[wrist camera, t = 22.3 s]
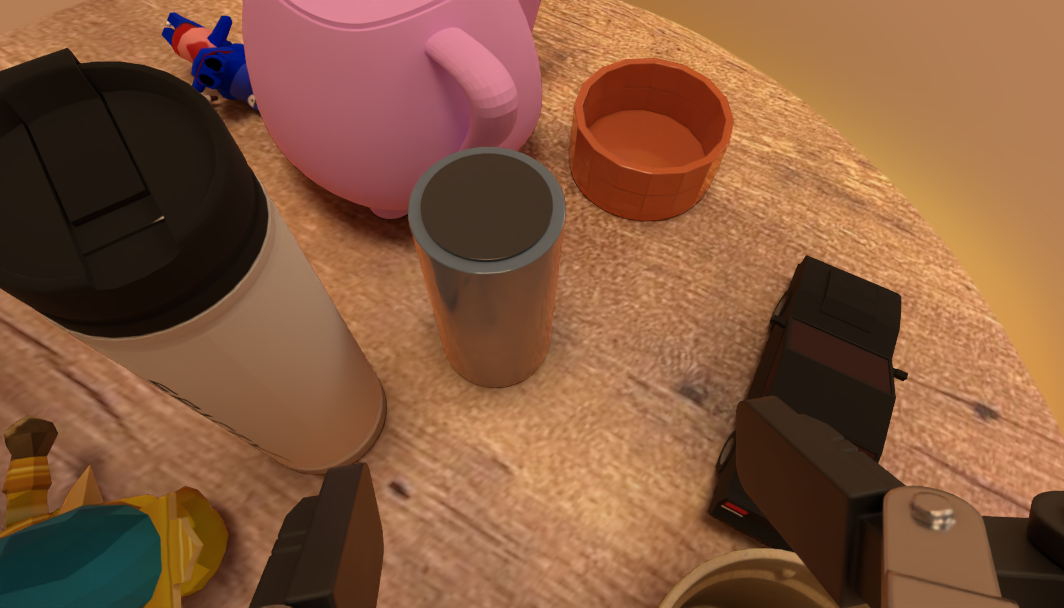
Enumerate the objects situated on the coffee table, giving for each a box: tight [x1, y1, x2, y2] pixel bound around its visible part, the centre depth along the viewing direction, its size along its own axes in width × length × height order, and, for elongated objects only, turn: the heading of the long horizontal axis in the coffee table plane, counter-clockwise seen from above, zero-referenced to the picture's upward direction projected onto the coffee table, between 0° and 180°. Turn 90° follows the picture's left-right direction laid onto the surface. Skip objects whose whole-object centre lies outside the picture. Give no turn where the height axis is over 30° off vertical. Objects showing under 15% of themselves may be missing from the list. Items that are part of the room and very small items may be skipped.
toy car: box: [708, 255, 908, 553], centre depth 29 cm, size 7×16×5 cm, turn 152°
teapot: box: [242, 0, 542, 219], centre depth 33 cm, size 20×20×15 cm
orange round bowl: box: [569, 58, 734, 221], centre depth 37 cm, size 9×9×4 cm
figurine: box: [162, 12, 259, 110], centre depth 39 cm, size 5×8×5 cm, turn 43°
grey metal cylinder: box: [408, 147, 566, 387], centre depth 27 cm, size 6×6×12 cm
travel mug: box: [0, 48, 386, 475], centre depth 22 cm, size 6×7×20 cm
